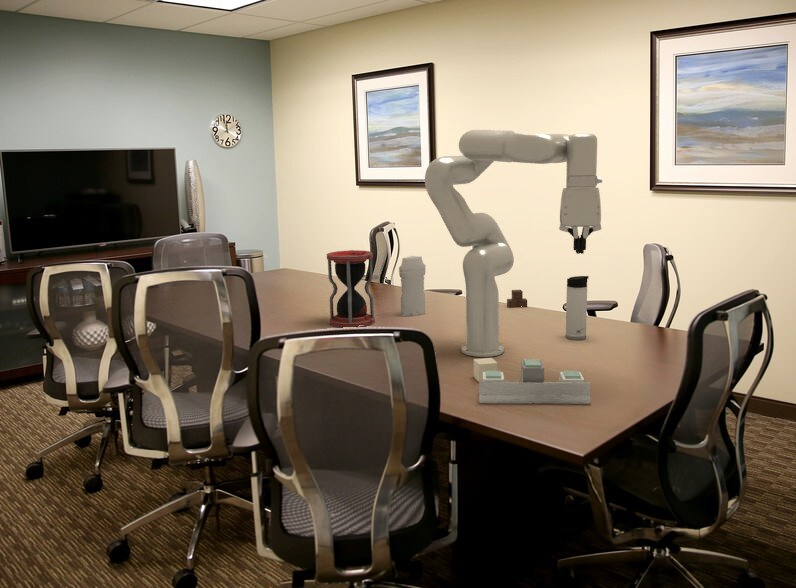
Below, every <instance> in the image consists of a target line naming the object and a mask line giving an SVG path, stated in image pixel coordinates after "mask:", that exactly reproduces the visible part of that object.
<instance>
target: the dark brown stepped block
mask: <svg viewBox="0 0 796 588" xmlns="http://www.w3.org/2000/svg"><path fill="white" fill-rule="evenodd" d="M521 306H522V307H521ZM506 307H507V308H508V309H513V308H515V309H517V308H528V299H527V298H523V290H521V289H512V290H511V298H507V299H506Z"/></svg>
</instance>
